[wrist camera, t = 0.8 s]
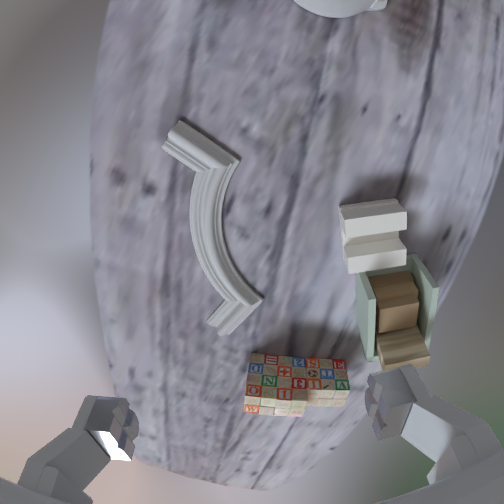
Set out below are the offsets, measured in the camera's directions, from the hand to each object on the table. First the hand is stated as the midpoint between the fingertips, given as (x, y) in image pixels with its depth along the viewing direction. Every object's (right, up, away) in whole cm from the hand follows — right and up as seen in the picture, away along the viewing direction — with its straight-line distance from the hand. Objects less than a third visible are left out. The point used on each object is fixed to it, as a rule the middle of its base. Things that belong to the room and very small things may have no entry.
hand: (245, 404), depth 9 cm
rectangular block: (+26, -6, +48) cm, 55 cm away
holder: (+20, +9, +42) cm, 47 cm away
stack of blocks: (+10, -21, +58) cm, 63 cm away
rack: (+26, -2, +47) cm, 54 cm away
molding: (-8, +7, +46) cm, 47 cm away
